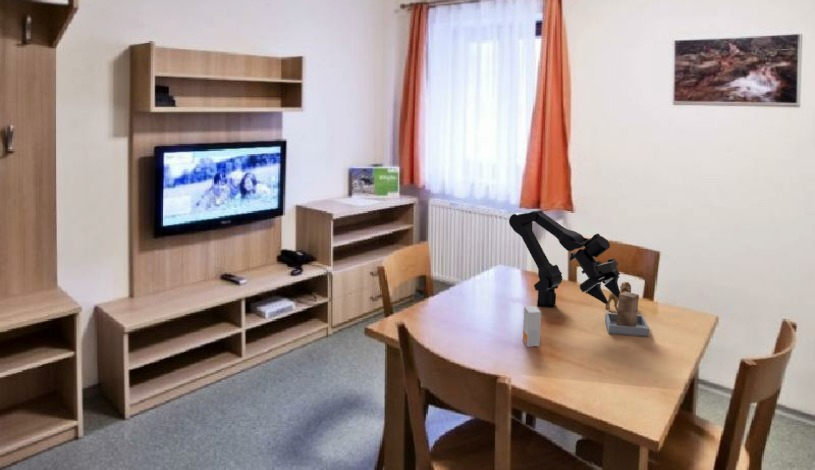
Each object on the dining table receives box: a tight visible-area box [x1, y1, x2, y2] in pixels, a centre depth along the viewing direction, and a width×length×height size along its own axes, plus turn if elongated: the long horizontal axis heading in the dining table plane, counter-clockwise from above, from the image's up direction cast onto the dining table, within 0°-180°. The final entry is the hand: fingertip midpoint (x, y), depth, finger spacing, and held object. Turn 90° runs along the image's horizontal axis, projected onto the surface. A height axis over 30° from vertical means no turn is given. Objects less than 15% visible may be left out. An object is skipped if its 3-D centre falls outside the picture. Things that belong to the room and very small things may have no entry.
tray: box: [604, 312, 650, 338], centre depth 216 cm, size 13×13×3 cm
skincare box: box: [522, 305, 542, 348], centre depth 202 cm, size 6×4×12 cm
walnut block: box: [617, 291, 640, 327], centre depth 215 cm, size 5×4×12 cm
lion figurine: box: [605, 281, 632, 311], centre depth 237 cm, size 15×5×9 cm, turn 135°
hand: (613, 300), depth 219 cm, fingers open, 9 cm apart
